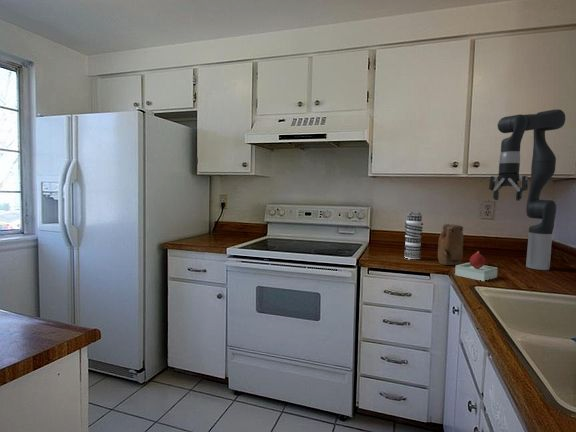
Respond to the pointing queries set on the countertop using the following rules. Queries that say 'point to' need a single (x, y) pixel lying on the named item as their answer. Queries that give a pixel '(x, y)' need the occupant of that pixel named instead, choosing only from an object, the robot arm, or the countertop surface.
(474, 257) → the onion
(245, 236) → the countertop surface
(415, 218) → the white grey cylinder
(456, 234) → the block
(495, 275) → the stand
